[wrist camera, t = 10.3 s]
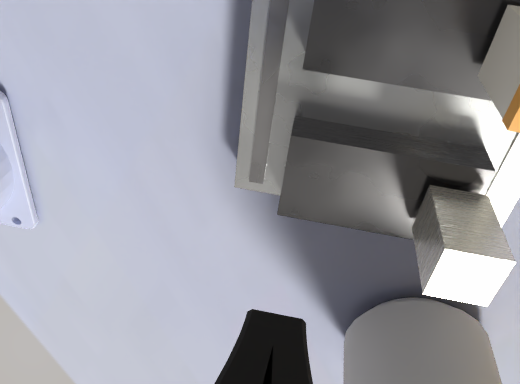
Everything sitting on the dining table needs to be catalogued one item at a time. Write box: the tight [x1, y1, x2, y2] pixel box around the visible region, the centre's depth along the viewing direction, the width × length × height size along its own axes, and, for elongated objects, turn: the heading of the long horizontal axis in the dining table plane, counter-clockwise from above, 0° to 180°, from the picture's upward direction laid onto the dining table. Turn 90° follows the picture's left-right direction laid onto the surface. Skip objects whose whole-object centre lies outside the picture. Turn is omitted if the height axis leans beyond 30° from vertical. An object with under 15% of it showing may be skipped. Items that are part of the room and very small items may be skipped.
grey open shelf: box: [234, 0, 520, 306], centre depth 13 cm, size 11×16×6 cm
